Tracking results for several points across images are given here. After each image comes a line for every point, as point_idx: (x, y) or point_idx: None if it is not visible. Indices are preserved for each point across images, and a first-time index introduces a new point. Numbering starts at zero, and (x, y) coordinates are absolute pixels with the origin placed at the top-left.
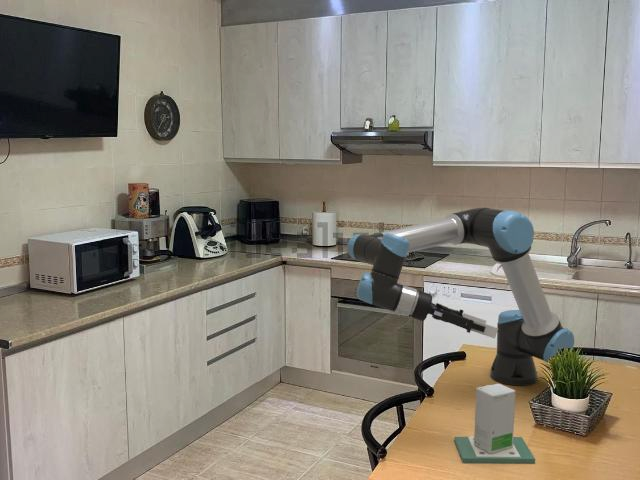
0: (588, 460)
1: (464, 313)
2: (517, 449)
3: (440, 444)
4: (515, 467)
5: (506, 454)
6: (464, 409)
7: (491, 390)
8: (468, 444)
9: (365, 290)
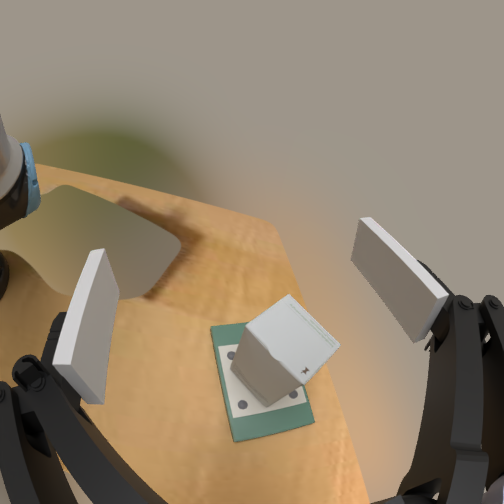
0: (253, 255)
1: (71, 361)
2: None
3: (254, 464)
4: None
5: None
6: (86, 406)
7: (311, 346)
8: (261, 417)
9: None
